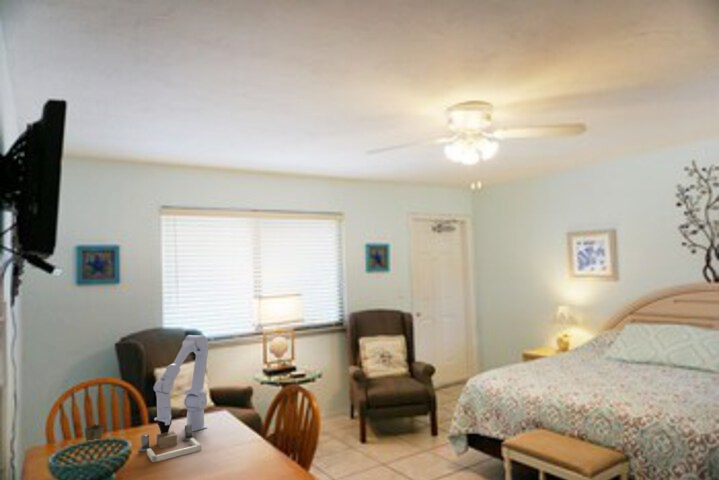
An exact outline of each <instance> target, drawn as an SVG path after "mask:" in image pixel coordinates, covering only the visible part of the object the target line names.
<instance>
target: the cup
mask: <svg viewBox="0 0 719 480" xmlns="http://www.w3.org/2000/svg"><path fill="white" fill-rule="evenodd" d="M103 433H104V424H103V423H102V424H101V425H100V424H99V423H98V424H97V423H95V424H93V425H90V426H86V427H85V428H84V436H85V439H86V441H87V442H88V440H94V439H100V440H101V439H102V437H103V435H104V434H103Z"/></svg>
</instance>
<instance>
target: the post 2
mask: <svg viewBox="0 0 719 480" xmlns="http://www.w3.org/2000/svg"><path fill="white" fill-rule="evenodd" d="M195 437H196V436H195V435H193V431H192V425H191V424H189V425H187V424H186V425H184V436H183V437H182V441H183V442H190V439H191V438H194V439H195ZM195 440H196V439H195Z"/></svg>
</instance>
